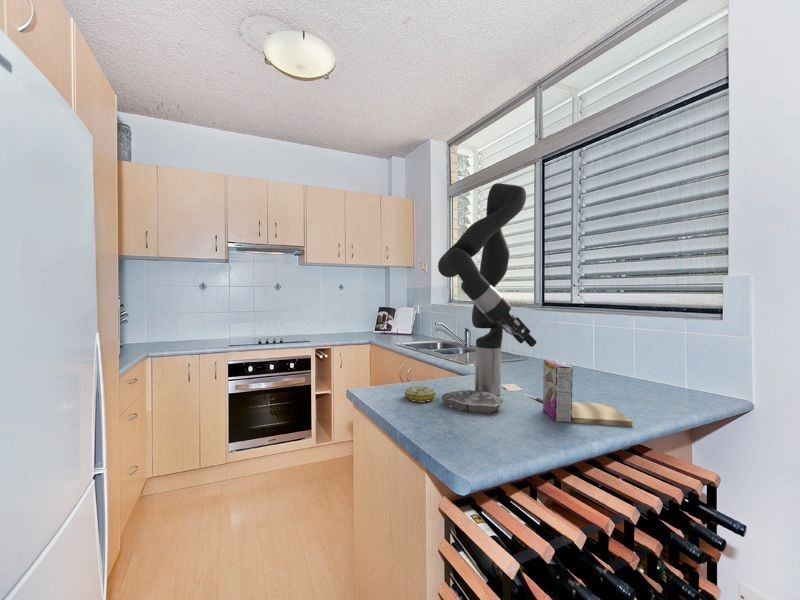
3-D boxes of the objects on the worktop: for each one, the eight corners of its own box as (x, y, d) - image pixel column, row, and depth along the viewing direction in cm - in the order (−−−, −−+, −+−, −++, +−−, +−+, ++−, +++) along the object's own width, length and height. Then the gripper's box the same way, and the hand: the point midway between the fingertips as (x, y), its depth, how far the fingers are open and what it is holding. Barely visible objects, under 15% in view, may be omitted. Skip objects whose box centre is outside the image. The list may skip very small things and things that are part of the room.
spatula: (514, 387, 148) (514, 383, 148) (567, 410, 120) (567, 406, 120) (500, 388, 146) (500, 384, 146) (551, 412, 118) (551, 407, 118)
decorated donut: (424, 393, 136) (424, 383, 136) (440, 401, 127) (441, 390, 127) (399, 396, 131) (399, 386, 131) (414, 405, 122) (414, 393, 122)
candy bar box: (541, 410, 118) (542, 359, 118) (557, 410, 118) (558, 359, 118) (554, 422, 107) (556, 366, 107) (572, 423, 107) (573, 366, 106)
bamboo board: (572, 422, 107) (572, 417, 107) (557, 405, 123) (557, 401, 123) (632, 426, 105) (632, 421, 105) (609, 408, 120) (609, 404, 120)
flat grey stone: (507, 403, 126) (507, 394, 126) (498, 418, 110) (498, 408, 110) (451, 395, 134) (451, 387, 134) (436, 409, 119) (436, 399, 119)
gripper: (509, 294, 102) (549, 337, 104) (491, 294, 117) (526, 331, 118) (491, 313, 102) (530, 356, 104) (474, 311, 116) (510, 348, 118)
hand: (528, 342), depth 111 cm, fingers open, 6 cm apart
